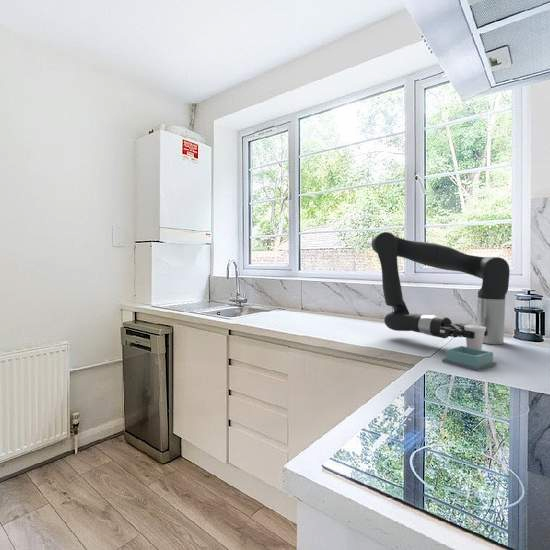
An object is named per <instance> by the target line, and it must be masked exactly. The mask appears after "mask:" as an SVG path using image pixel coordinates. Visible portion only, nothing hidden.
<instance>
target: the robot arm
mask: <svg viewBox="0 0 550 550" xmlns="http://www.w3.org/2000/svg"><path fill="white" fill-rule="evenodd" d="M370 244H371V248H372V249H373V251H374V252H375V253H377V256H378V259H379V262H380V267H381V275H382V291H383V292H382V293H383V297H384V302H385V304H386V306H387V307H388V306H389V307H392V309H393V311H391V312H389V313H387V314H386V315H385V317H384V321H383V322H384V325H385V326H386V327H387V328H388V329H390V330H393V331H395V332H397V331H398V332H413V333H419V334H423V335H427V336H430V337H431V336H432V337H436V338H441V339H447V338H449V337H452V338H465V339H466V338H471V339H474V338H475V333H474V332H472V331H466V330H465V329H464V326H465V325H467V324H465V323H456V322H454V323H452V320H451V319H450V318H449V317H445V316H440V315H439V316H438V315H432V314H421V313H410V311H409V309H408V307H407V305H406V302H405V300H404V298H403V297H404V296H403V291H402V285H401V279H400V273H399V268H398V258H399V257H400V258H403V259H407V260H409V261H412V262H415V263H417V264H421V265H424V266H427V267H431V268H435V269H438V270H439V269H440V270H446V271H452V272H453V271H454V272H460V273H465V274H468V275H471V276H474V277H475V278H479V279H482V283H481V286H480V289H478V291H477V303H476V305H477V306H476V325H477V326H483V327H485V328H486V331H485V333H484V339H483V344H488V345H503V344H504V340H505V339H504V338H505V336H504V335H505V320H506V319H505V315H506V296H507V293H508V290H509V285H510V284H509V282H510V266H509V263H508V261H507V260H506V259H504V258H503V257H500V256H499V257H498V256H488V257H487V256H485V257H484V256H479V255H473V254H467V253H463V252H461V251H459V250H458V249H456V248H452V247H449V246H446V245H443V244H438V243H433V242H428V241H427V242H425V241H419V240H417V241H416V240H409V239H405V238H401V237H398V236H395V234H393V233H392V232H389V231H382V232H378V233H376V234H375V235H374V237H373V238H371V243H370Z"/></svg>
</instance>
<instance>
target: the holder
mask: <svg viewBox="0 0 550 550" xmlns="http://www.w3.org/2000/svg"><path fill="white" fill-rule="evenodd" d="M493 359H494V352H492V351H488V350H487V351H486V350H483V349H482V350H479V349H474V348H469V347H467V346H463V345H461V346H457V347H453V348H447V349H445V357H444V358H441V362H442V361H443V362H442V363H445V362H446V363H445V364H449V363H450V365H453V364H454V365H453V366H458V367H461V368H463V369H468V370H469V369H470V370H472V371H476V372H480V371H482V370H486V369H489V368H492V367H495V366H497V361H494V360H493ZM479 370H480V371H479Z"/></svg>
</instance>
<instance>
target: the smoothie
mask: <svg viewBox="0 0 550 550" xmlns="http://www.w3.org/2000/svg"><path fill="white" fill-rule="evenodd" d="M476 319H477V313H473V320H472V321H473V324H466V325H465V326H464V329H465V330H466V331H472V332H474V333H475V338H474V339H471V338H465V340H466V341H465V342H466V347H469V348H474V349H479V350H483V344H484V343H483V339H484V333H485V331H486V328H485V327H483V326H477V324H476Z"/></svg>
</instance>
